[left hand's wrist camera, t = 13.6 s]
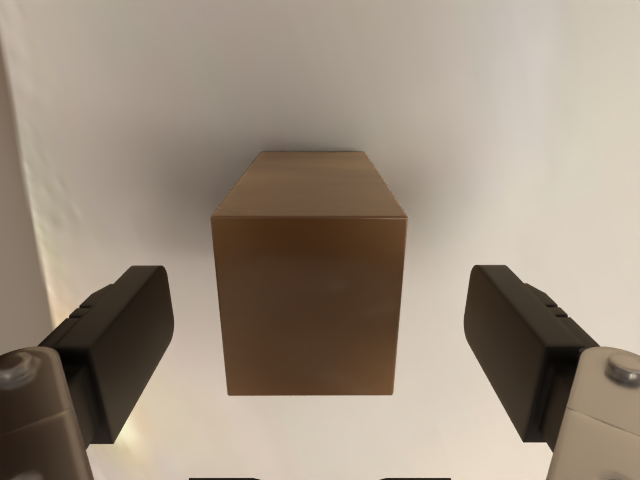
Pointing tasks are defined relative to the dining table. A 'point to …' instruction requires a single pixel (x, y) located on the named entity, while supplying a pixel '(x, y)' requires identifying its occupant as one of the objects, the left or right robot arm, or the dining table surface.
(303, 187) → the block
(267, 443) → the dining table surface
